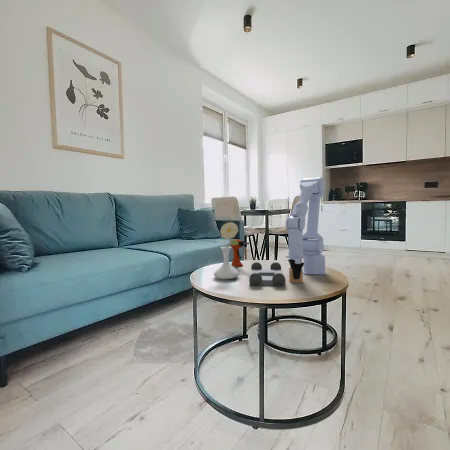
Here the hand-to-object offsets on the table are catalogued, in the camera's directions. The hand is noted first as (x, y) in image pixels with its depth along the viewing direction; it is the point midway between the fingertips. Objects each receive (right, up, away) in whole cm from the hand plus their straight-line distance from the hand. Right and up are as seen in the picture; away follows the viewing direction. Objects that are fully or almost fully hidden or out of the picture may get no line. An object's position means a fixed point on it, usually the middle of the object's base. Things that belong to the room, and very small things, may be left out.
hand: (295, 277), depth 115 cm
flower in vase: (-28, -2, +7) cm, 29 cm away
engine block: (0, -1, 0) cm, 1 cm away
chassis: (-11, -1, +5) cm, 12 cm away
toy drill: (-21, 0, +30) cm, 37 cm away
